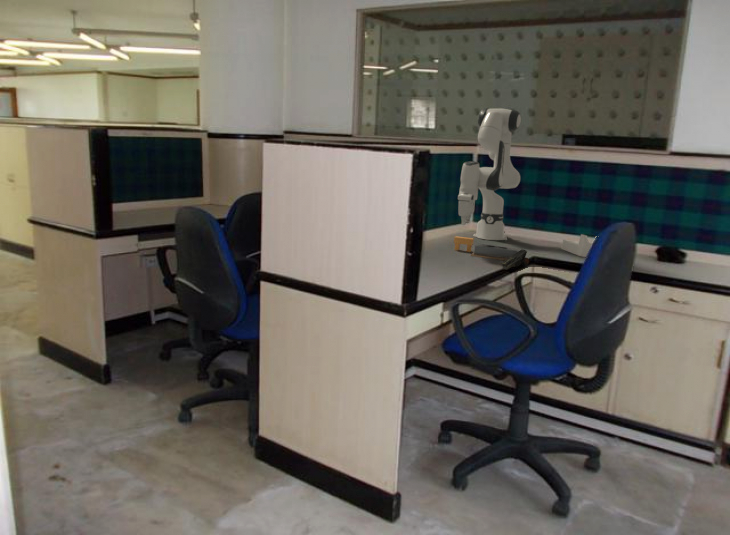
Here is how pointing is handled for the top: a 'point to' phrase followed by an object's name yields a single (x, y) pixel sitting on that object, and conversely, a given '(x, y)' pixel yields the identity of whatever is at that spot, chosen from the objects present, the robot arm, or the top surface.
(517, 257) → the toy gun
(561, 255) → the top surface
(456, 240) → the orange arch block
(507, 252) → the rail board
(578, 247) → the tape dispenser
